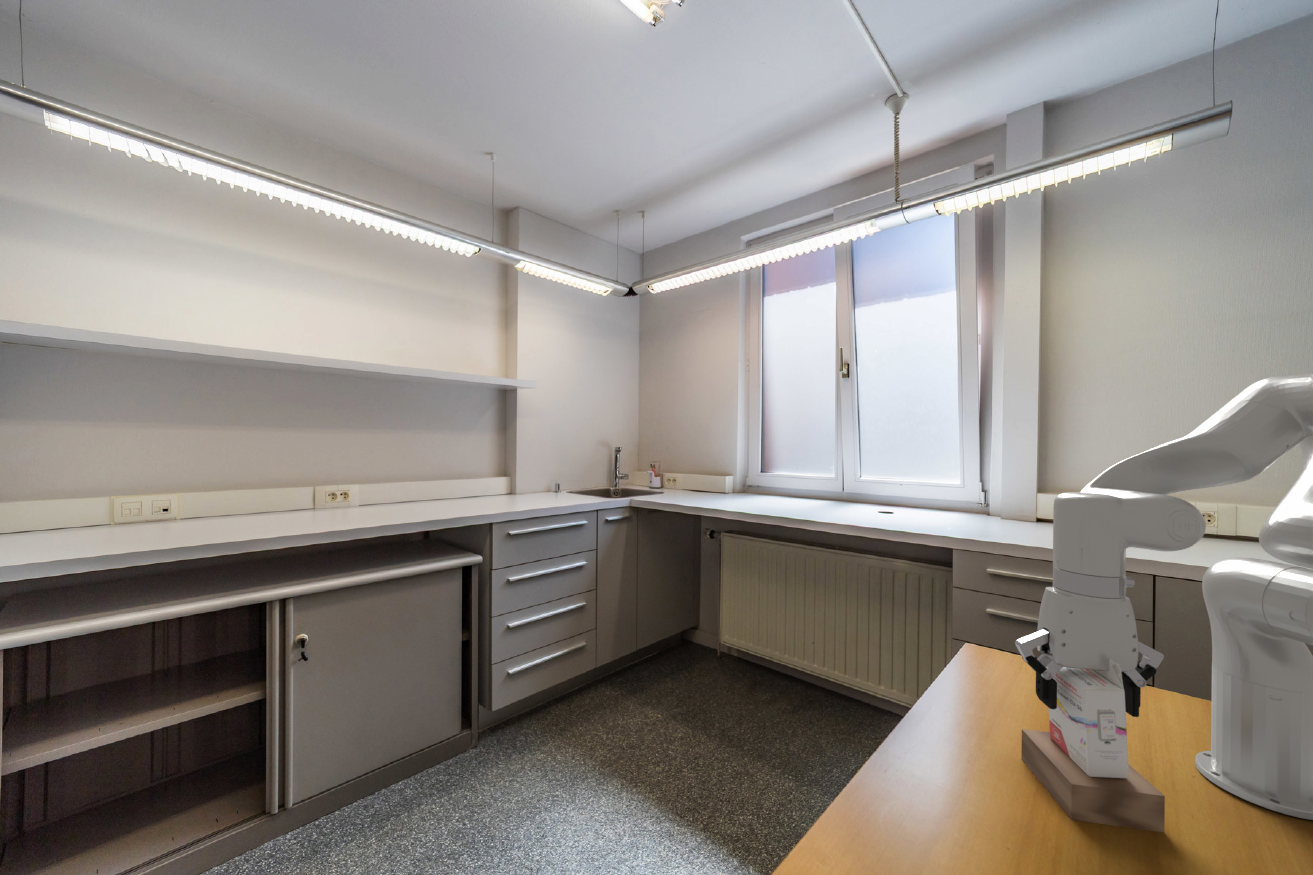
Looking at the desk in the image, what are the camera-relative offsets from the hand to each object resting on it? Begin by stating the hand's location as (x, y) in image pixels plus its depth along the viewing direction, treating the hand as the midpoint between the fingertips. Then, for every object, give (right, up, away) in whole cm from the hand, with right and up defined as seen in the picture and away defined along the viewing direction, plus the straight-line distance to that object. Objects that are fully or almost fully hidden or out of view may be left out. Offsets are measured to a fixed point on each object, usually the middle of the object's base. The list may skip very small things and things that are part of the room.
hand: (1086, 707), depth 68 cm
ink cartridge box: (0, -7, 0) cm, 7 cm away
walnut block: (0, -12, 0) cm, 12 cm away
